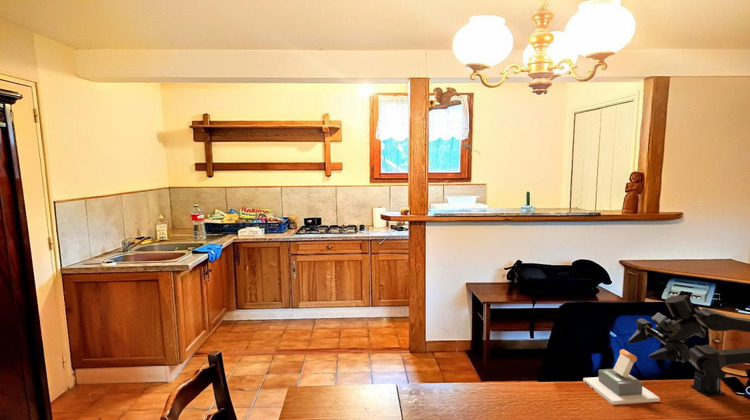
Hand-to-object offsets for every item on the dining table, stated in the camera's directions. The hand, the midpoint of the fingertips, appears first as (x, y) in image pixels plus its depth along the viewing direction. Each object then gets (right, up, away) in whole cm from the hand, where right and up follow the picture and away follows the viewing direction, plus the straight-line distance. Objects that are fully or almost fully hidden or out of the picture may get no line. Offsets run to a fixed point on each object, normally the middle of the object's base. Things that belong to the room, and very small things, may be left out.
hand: (638, 349), depth 130 cm
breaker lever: (-6, -8, 0) cm, 11 cm away
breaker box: (-6, -14, 0) cm, 15 cm away
